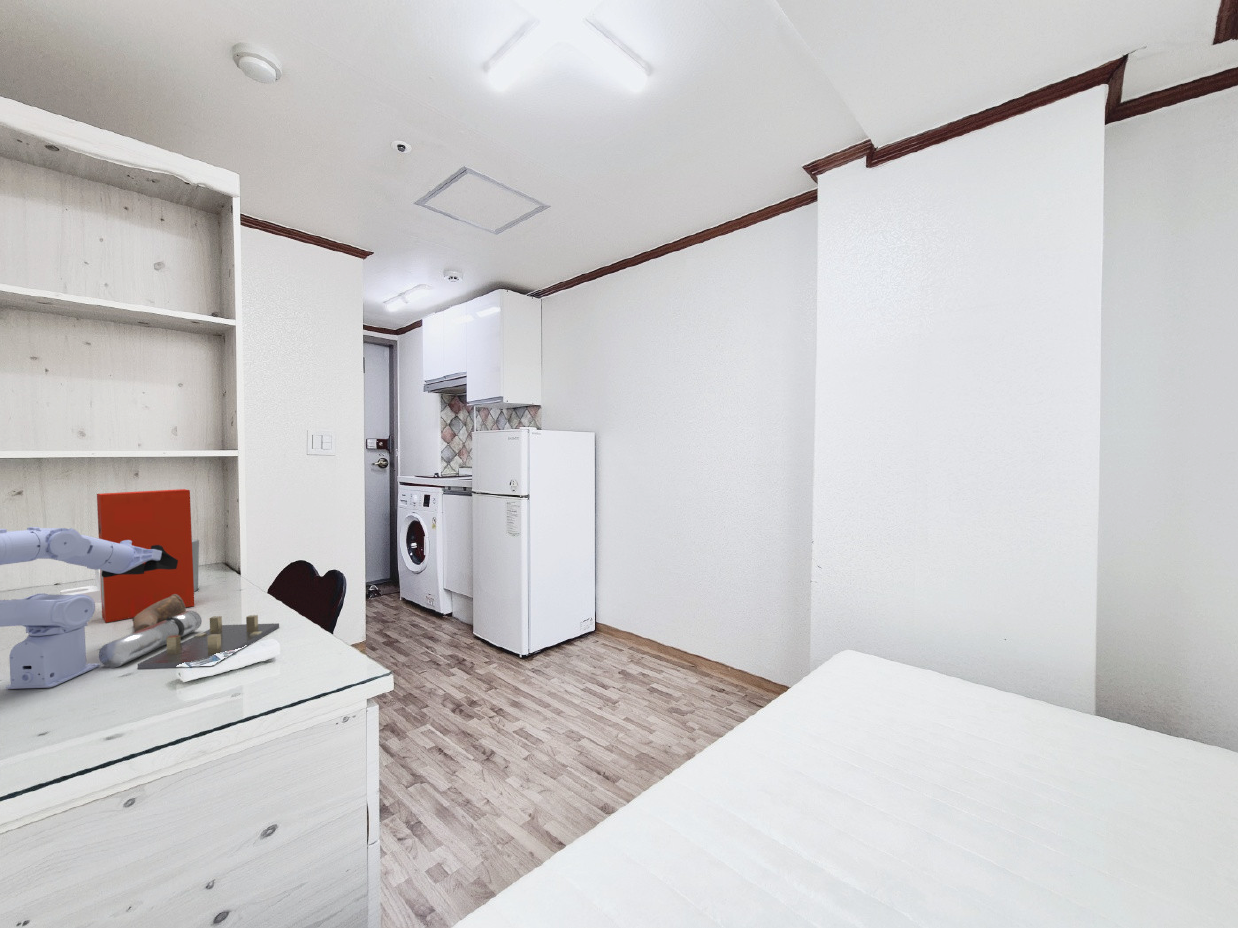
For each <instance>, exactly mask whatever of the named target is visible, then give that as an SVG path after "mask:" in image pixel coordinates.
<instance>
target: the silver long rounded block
mask: <svg viewBox="0 0 1238 928" xmlns="http://www.w3.org/2000/svg"><path fill="white" fill-rule="evenodd" d="M202 622H203V621H202V617H201V615H200V614H199V613H198V612H196V611H194V610H186V612H184V613H181V614H179V615H176V616H174V617H168V618H167V619H166V620H164V621H161V622H159V623H157V624H154V625H152V626H149V627H147V628H144V629H142V630H139V631H137V632H132V633H130V634H127V635H125V636H122V637H120V638H118V639H115V640H112V641H111V642H110V641H109V642H108V643H105V644H104V645H103V646H102V647H101V648H100V649H99V652H98V658H99V659H98V660H99V661H100V664H102V665H103V666H104V667H107V668H111V669H114V668H117V667H120V666H123V665H126V664H127V663H129V662H130V661H133V660H136V659H138V658H139V657H142V656H143V655H146V654H148V653H150V652H153V651H155V650H157V649H160V648H161V647H163V646H167V637H169V636H172V635H180V639H181V638H183V637H185V636H187V635H189V634H191V633H193V632H195V631H197V630H199V628H200V627H201V626H202Z"/></svg>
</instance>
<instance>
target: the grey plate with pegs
mask: <svg viewBox="0 0 1238 928" xmlns="http://www.w3.org/2000/svg"><path fill="white" fill-rule="evenodd" d="M222 619H223V618H222V616H221V615H219V616H212V617H211V616H210V617H209V629H207V630H205V631H203V632H200V633H199V632H198V633H197V634H195V635H193V636H192V637H191V638H188V639H187V640H185V641H182V640H181V638H180V635H172V636H169V637H167V644H166V649H165V650H164V651H162V652H159V653H157V654H155V655H153V656H151V657H149V658H147V659H145V660H143V661H140V662H139V663H137V669H138V670H145V669H177V668H176V666H177V665H179V664H182V663H184V662H191V661H194V660H199V659H201V658H207V657H209V656H212V655H214V654H216V653H220V652H225V651H229V650H235V649H238V648H242V647H244V646H245V645H248V644H250V645H252V644H254V643H255V642H257V641H258V640H260V639H262V638H264V637H265V635H266V636H267V635H269V634H271V633H272V632H274V631H276V630H277V629H279V628H280V622H279V623H259V616H258V614H256V615H255V614H253V615H251V614H250V615H248V616H246V618H245V620H246V624H245V623H244V624H223V620H222ZM181 641H182V642H181ZM253 642H254V643H253ZM251 643H252V644H251ZM248 646H249V645H248Z"/></svg>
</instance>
